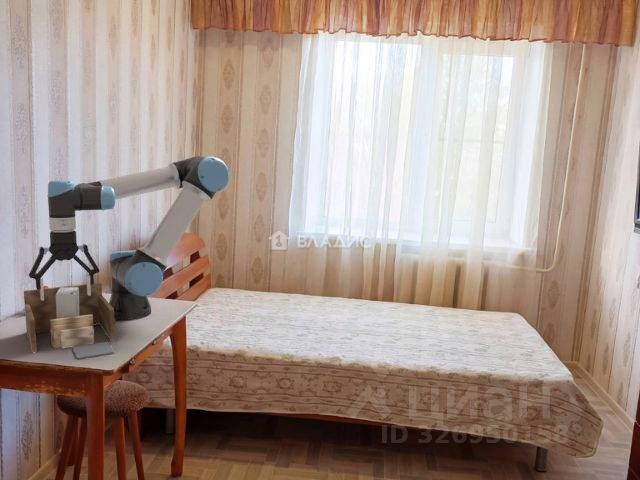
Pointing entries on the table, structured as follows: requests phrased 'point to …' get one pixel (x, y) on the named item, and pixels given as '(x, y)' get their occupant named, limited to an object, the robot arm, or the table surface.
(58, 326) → the offcut bundle
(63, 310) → the skincare box
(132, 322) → the table surface
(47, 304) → the walnut rack
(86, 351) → the grey rubber mat
